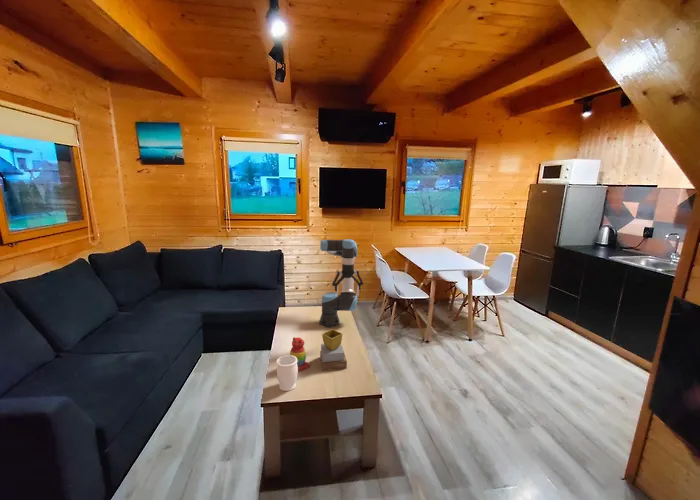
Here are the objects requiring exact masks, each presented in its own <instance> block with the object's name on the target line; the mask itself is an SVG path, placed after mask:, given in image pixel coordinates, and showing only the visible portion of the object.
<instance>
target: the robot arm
mask: <svg viewBox="0 0 700 500" xmlns="http://www.w3.org/2000/svg"><path fill="white" fill-rule="evenodd" d="M357 245H358V244H357V242H356V241H355V240H354V239H351V238H349V239H348V238H347V239H321V240H320V245H319V246H320V252H326V253H327V254H329V255H331V256H336V257H340V259H341V263H342V264H341V271H339V270H337V272H336V275H335V277H334V279H333V280H332V283H331V285H332V287H334V291H335V292H334V291H330V292H326V293H324V294H322V296H321V314H320V318H319V325H320V326H321V327H324V328H334V327H337V326H338V325H340V317H339V315H338V311H341V312H344V311H345V312H347V311H348V312H351V311H352V312H355V311H356V309H357V304H358V303H357V302H358V296H360V294H359V293H360V291H361V287H362V285H364V282H363V280H362V278H361V275H360V272H359V270H358V269H357V270H355V260H356V259H357V257H358V255H359V254H358V246H357ZM340 275H341V276H340ZM355 275H356V276H357V278H358V279H356V277H355ZM339 277H340V278H339ZM338 278H339V279H338ZM341 282H342V288H341V289H342V290H341V291H339V285H340V284H341ZM354 283H356V291H355V290H354V286H355V285H354ZM339 293H340V294H339Z"/></svg>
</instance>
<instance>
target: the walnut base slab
mask: <svg viewBox="0 0 700 500" xmlns="http://www.w3.org/2000/svg"><path fill="white" fill-rule="evenodd" d="M319 353H320V355H319V356H320V357H319V358H320V363H321V364H320V365H321V370H322V371H331V370H332V371H334V370H343V369H345V370H346V369H348V368H347V367H348V363H347V362H348V360H347V358H346V355H345V353H344V360H343V361H332V362H323V359H322V354H321V350H320V351H319Z"/></svg>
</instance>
